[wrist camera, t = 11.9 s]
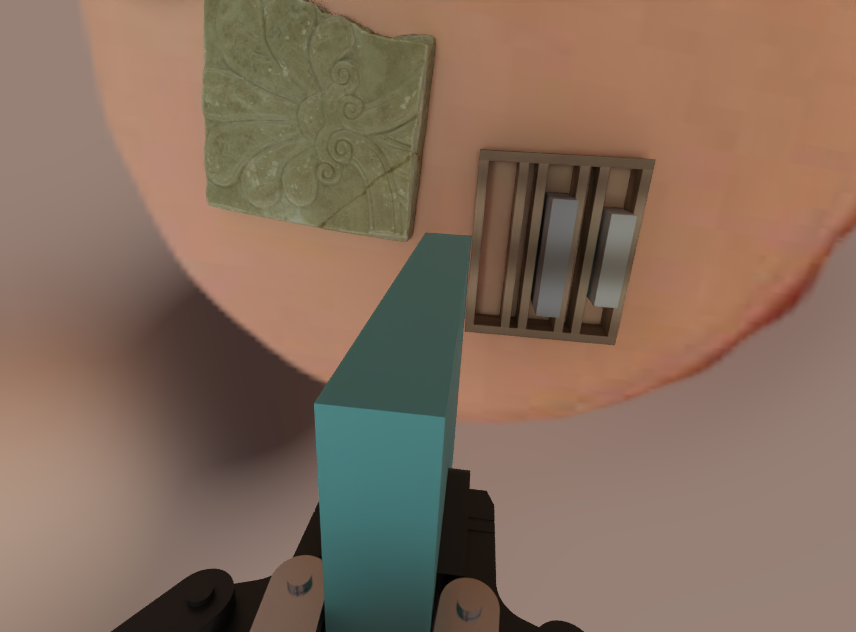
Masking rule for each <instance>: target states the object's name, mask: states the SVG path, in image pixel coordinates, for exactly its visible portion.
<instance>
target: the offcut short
mask: <svg viewBox="0 0 856 632" xmlns="http://www.w3.org/2000/svg"><path fill="white" fill-rule="evenodd" d="M636 219H637V215H635V214H633V213H631V212H628V211H626V210H624V209H622V208H617V207H603V210H602V216H601V221H600V227H599V232H598V237H597V243H596V248H595V253H594V259H593V264H592V269H591V275H590V280H589V286H588V291H587V297H588V298H589V300H590V301H591V303H592V304H593V306H597V307H609V308H618V303H619V299H620V294H621V289H622V285H623V280H624V275H625V271H626V266H627V261H628V257H629V252H630V247H631V243H632V238H633V233H634V229H635V224H636Z"/></svg>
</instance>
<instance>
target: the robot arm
mask: <svg viewBox="0 0 856 632" xmlns="http://www.w3.org/2000/svg"><path fill="white" fill-rule="evenodd" d="M469 487H470V471H469V470H461V469H453V468H448V475H447V484H446V493H445V502H444V511H443V520H442V529H441V538H440V547H439V556H438V565H437V574H436V588H435V601H434V614H433V627H432V632H584V631H582V630H581V629H580V628H578V627H576V626H575V625H573V624H570V623H568V622H564V621H557V620H556V621H549V622H547V623H545V624H543V625H542V626H540V627H537V626H535V625H533V624H531V623H529V622H527V621H525V620H523V619H521V618H519V617H518V616H516V615H515V614H513V613H512V612H511V611H510V610H509V609H508V608H507V607H506V606H505V605H504V603H503V602H502V600H501V599H500V597H499V594H498V591H497V587H496V565H495V564H496V563H495V523H494V504H493V502H492V500H491V498H490V497H489V495H488V493H487V491H483V490H475V489H469ZM111 632H326V625H325V605H324V586H323V566H322V547H321V527H320V507H319V502H318V505H317V506H316V509H315V512H314V513H313V515H312V517H311V519H310V522H309V524H308V526H307V528H306V530H305V533H304V535H303V537H302V539H301V541H300V543H299V545H298V548H297V550H296V552H295V554H294V556H293V558H291V559H289V560H287V561H285V562H283V563H282V564H281V565H280V566H279V567H278V568H277V569H276V570H275V572H274V573H273V575H272V576H270V577H267V578H264V579H260V580H254V581H249V582H242V583H236V584H234V583H233V580H232V577H231V576H230V575H229V574H228V573H227V572H225V571H223V570H220V569H206V570H201V571H198V572H196V573H194V574H192V575H190V576H188V577H187V578H185V579H184V580H182V581H181V582H180V583H178V584H177V585H175V586H174V587H172V588H171V589H170V590H168V591H167V592H166V593H164V594H163V595H161V596H160V597H159V598H157V599H156V600H154V601H153V602H152V603H150V604H149V605H147V606H146V607H145V608H143V609H142V610H140V611H139V612H138V613H136V614H135V615H133V616H132V617H131V618H129V619H128V620H126V621H125V622H124V623H122V624H121V625H120V626H118V627H117V628H115V629H114V630H113V631H111Z"/></svg>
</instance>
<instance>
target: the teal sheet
mask: <svg viewBox="0 0 856 632" xmlns="http://www.w3.org/2000/svg"><path fill="white" fill-rule="evenodd" d="M470 246H471V236H465V235H451V234H437V233H425V235H424V236H423V238H422V239H421V241H420V242H419V244H418V245H417V247H416V248H415V250H414V251H413V253H412V254H411V256H410V258H409V259H408V261H407V262H406V264H405V265H404V267H403V268H402V270H401V271H400V273H399V274H398V276H397V277H396V279H395V280H394V282H393V284H392V285H391V287H390V288H389V290H388V291H387V293H386V294H385V296H384V297H383V299H382V300H381V302H380V303H379V305H378V306H377V308H376V310H375V311H374V313H373V314H372V316H371V317H370V319H369V320H368V322H367V323H366V325H365V326H364V328H363V329H362V331H361V333H360V334H359V336H358V337H357V339H356V340H355V342H354V343H353V345H352V346H351V348H350V349H349V351H348V352H347V354H346V355H345V357H344V359H343V360H342V362H341V363H340V365H339V366H338V368H337V369H336V371H335V372H334V374H333V375H332V377H331V378H330V380H329V381H328V383H327V385H326V386H325V388H324V389H323V391H322V392H321V394H320V395H319V397H318V398H317V400H316V402H315V403H314V408H315V429H316V448H317V468H318V487H319V507H320V527H321V547H322V566H323V586H324V605H325V625H326V632H432V627H433V614H434V601H435V588H436V574H437V565H438V556H439V547H440V538H441V529H442V520H443V511H444V502H445V493H446V484H447V475H448V468H452V463H453V462H452V461H453V450H454V439H455V427H456V415H457V403H458V390H459V378H460V366H461V354H462V342H463V330H464V318H465V306H466V294H467V282H468V270H469V258H470Z"/></svg>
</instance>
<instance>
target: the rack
mask: <svg viewBox="0 0 856 632" xmlns="http://www.w3.org/2000/svg"><path fill="white" fill-rule="evenodd" d="M489 161H504V162H517V170H516V179H515V187H514V196H513V205H512V213H511V222H510V231H509V239H508V248H507V257H506V266H505V274H504V283H503V292H502V300H501V309H500V316H494V315H482V314H475V304H476V293H477V282H478V271H479V261H480V250H481V239H482V229H483V218H484V207H485V196H486V186H487V175H488V164H489ZM529 163H535V170H534V178H533V185H532V193H531V201H530V209H529V216H528V224H527V232H526V240H525V248H524V255H523V263H522V271H521V279H520V286H519V294H518V302H517V310H516V317H510V316H511V308H512V300H513V292H514V284H515V276H516V268H517V260H518V252H519V244H520V236H521V228H522V220H523V212H524V204H525V195H526V187H527V179H528V171H529ZM549 164H557V165H574V168H573V175H572V181H571V187H570V194H569V195H570V196H572V197H574V198H575V199H577V200H579V201H578V207H577V214H576V220H575V226H574V232H573V238H572V244H571V250H570V256H569V262H568V268H567V274H566V280H565V286H564V292H563V298H562V304H561V310H560V316H559V318H556V317H550V320H539V319H528V311H529V304H530V297H531V289H532V282H533V275H534V268H535V261H536V253H537V246H538V239H539V232H540V225H541V217H542V210H543V203H544V196H545V189H546V182H547V174H548V167H549ZM654 164H655V160H654V159H642V158H624V157H606V156H588V155H570V154H551V153H533V152H515V151H497V150H480V158H479V170H478V182H477V193H476V205H475V216H474V228H473V240H472V251H471V263H470V275H469V286H468V298H467V309H466V321H465V332H476V333H487V334H498V335H509V336H519V337H530V338H541V339H552V340H563V341H574V342H585V343H596V344H607V345H615V342H616V338H617V333H618V328H619V324H620V319H621V315H622V310H623V306H624V301H625V296H626V292H627V287H628V283H629V278H630V274H631V269H632V265H633V260H634V255H635V251H636V246H637V242H638V237H639V233H640V228H641V223H642V219H643V214H644V210H645V205H646V201H647V196H648V191H649V187H650V182H651V178H652V173H653V169H654ZM591 166H592V171H591V177H590V183H589V189H588V195H587V200H586V206H585V212H584V218H583V224H582V229H581V235H580V241H579V247H578V253H577V258H576V264H575V270H574V276H573V282H572V287H571V293H570V299H569V305H568V311H567V316H566V322H564V319H565V313H566V307H567V302H568V296H569V290H570V284H571V278H572V272H573V267H574V261H575V255H576V249H577V243H578V237H579V231H580V226H581V220H582V214H583V208H584V202H585V196H586V191H587V185H588V179H589V173H590V167H591ZM610 168H627V169H632V170H631V175H630V180H629V185H628V190H627V195H626V200H625V205H624V210H626V211H628V212H631V213H633V214H635V215H637V219H636V224H635V229H634V233H633V238H632V243H631V247H630V252H629V257H628V261H627V266H626V271H625V275H624V280H623V285H622V289H621V294H620V299H619V303H618V308H609V307H604V308H603V313H602V318H601V323H600V325H596V324H585V323H582V318H583V312H584V307H585V302H586V296H587V291H588V286H589V280H590V275H591V269H592V264H593V259H594V253H595V248H596V243H597V237H598V232H599V227H600V221H601V216H602V210H603V205H604V200H605V194H606V189H607V184H608V178H609V173H610Z"/></svg>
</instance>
